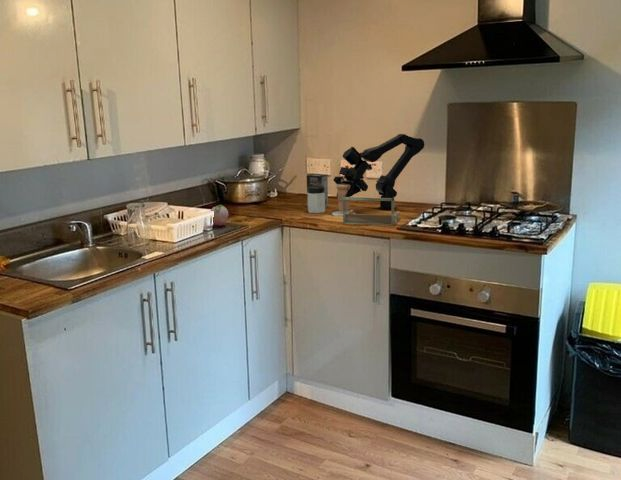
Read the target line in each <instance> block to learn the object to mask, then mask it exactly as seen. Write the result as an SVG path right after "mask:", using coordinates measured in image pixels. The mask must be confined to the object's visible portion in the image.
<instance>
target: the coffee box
mask: <svg viewBox="0 0 621 480" xmlns="http://www.w3.org/2000/svg"><path fill="white" fill-rule="evenodd" d="M328 177H329V175H328V174H322V173H320V174H319V173H310V174H307V175H306V207H307V208H308V189H307V187H309V186H324V189H325V190H324V191H325V192H324V193H325V208H326V207H329V193H328V192H329V189H328V188H329V187H328V186H329V185H328V184H329V182H328V181H329V180H328Z"/></svg>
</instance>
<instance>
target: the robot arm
mask: <svg viewBox="0 0 621 480" xmlns="http://www.w3.org/2000/svg"><path fill="white" fill-rule="evenodd" d="M401 144H403V145H404V146H405V148H404V151H403V152H402V154H401V156H399V158H398V159H397V160H396V162H395V164H393V166H392V167H391V169H390V170H389V172H388V173H386V175H384V174H381V175H380V176H379V178H378V179H377V180H376V183H375V191H377V192H378V195H379V196H380V198H394V199H395V197H397V195H398V191H396V190H395V189H394V188H395V184H396V180H397V179H398V177H399V176H400V175H401V173H402V172H403V171H404V169H405V168H406V166H407V165H408V163H409V162H410V161H411V159H412V158H413V157H414V156H416V155H418V154H420V152H421V151H422V150H424V148H425V141H424V139H422V138H420V137H413V136H409V135H407V134H405V133H399V134H397V135H395V136H394V137H392V138H390V139H389V140H387V141H385V142H383V143H381V144H379V145H378V146H372V147H368V148H366V149H364V150H362V152H359V151H358V150H357V149H356V148H355V146H351V147H350V148H348V149H347V150H345V151H344V152H343V154H342V158H343V159H344V160H345V161H346V162H347V163H348V164H349V165H350V167H345V166H344V167H343V166H341V167H340V170H339V175H342V176H338V175H337V176H334V177H333V179H332V180H333V182H334V183H335V185H337V184H350V188H349V190H348V192H347V194H346V196H345V197H354V195H356V194H359V193H360V192H367V190H368V188H369V186H368V184H367V183H366V182H365V180H364V178H365V177H364V174H365V173H366V172H367V171H371V170H373V167H372V164H371V163H375V162H377V161H378V160H379V159H381V157H382V156H383V155H384V154H385V153H388V152H389V151H391V150H392V149H395V148H396V147H398V146H400V145H401ZM370 162H371V163H370ZM336 198H337V199H338V193H337V192H336ZM379 203H380V204H379V207H378V209H380V210H386V211H387V210H391V201H379ZM394 209H397V206H394Z"/></svg>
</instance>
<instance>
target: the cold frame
mask: <svg viewBox="0 0 621 480" xmlns="http://www.w3.org/2000/svg"><path fill="white" fill-rule="evenodd" d="M346 200H349V201H377V202H378V201H379V202H380V201H391V209H390V210H391V214H368V213H367V214H365V213H355V214H354V212H355V211H354V209H350V210H348V211H349V212H348V213H346ZM394 207H395V197H394V198H381V197H364V196H363V197H362V196H361V197H359V196H358V197H354V196H351V197H343V216H342V224H345V225H346V224H347V225H368V226H393V227H394V226H395V225H396V224H397V222H399V220H400V219H401V211H399V210H397V211H396V212H395V208H394Z"/></svg>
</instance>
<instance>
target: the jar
mask: <svg viewBox="0 0 621 480" xmlns="http://www.w3.org/2000/svg"><path fill="white" fill-rule="evenodd" d="M307 189H308V207H307V211H308V213H309V214H321V213H322V214H323V213H325V212H326V207H325V193H324V192H325V191H324V190H325V189H324V186H309V187H307V186H306V190H307Z"/></svg>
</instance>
